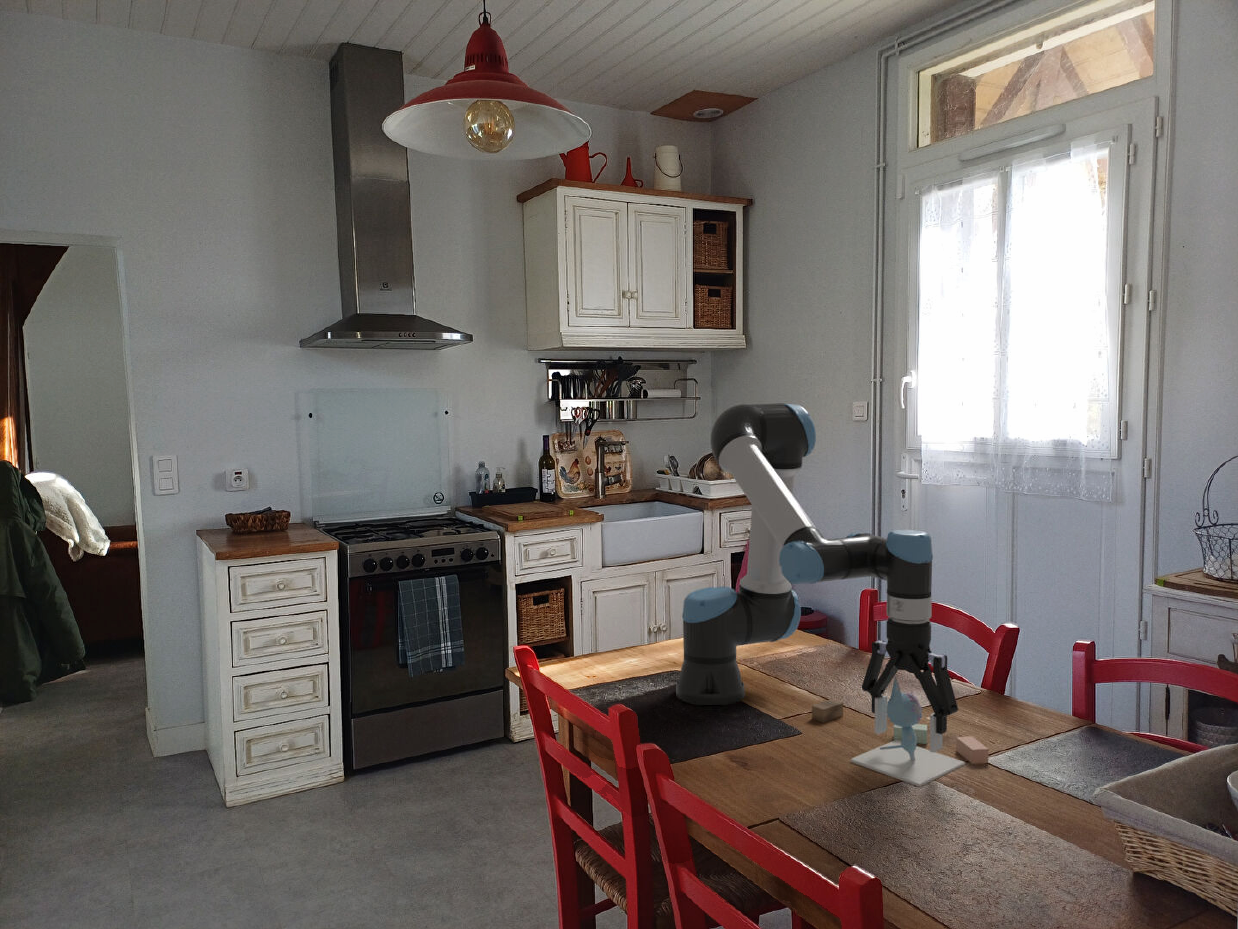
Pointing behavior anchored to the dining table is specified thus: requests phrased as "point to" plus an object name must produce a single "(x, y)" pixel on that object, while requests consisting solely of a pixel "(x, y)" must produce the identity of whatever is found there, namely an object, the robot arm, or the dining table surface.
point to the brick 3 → (972, 750)
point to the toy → (904, 717)
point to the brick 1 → (827, 710)
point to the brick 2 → (918, 729)
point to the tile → (908, 763)
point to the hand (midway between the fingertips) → (907, 741)
